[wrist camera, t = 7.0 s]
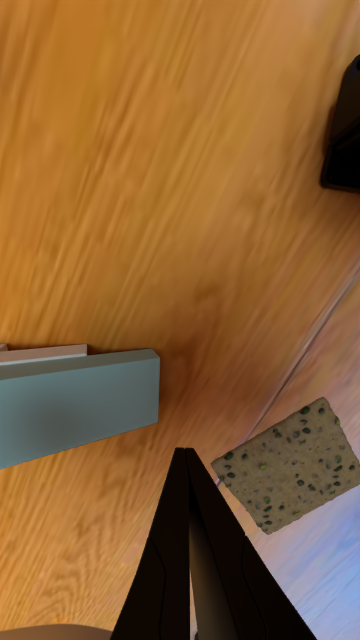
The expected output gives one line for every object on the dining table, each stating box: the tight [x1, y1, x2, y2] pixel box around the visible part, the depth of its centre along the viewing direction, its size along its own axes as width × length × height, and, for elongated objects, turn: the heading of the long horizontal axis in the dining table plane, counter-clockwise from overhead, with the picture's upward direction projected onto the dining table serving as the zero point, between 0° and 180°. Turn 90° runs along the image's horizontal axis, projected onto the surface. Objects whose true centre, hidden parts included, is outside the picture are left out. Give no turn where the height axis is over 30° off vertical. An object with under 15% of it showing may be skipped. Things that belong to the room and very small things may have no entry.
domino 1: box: [0, 344, 88, 365], centre depth 11 cm, size 2×5×9 cm
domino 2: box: [0, 348, 160, 469], centre depth 12 cm, size 2×5×9 cm
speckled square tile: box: [211, 397, 360, 535], centre depth 18 cm, size 12×12×1 cm
